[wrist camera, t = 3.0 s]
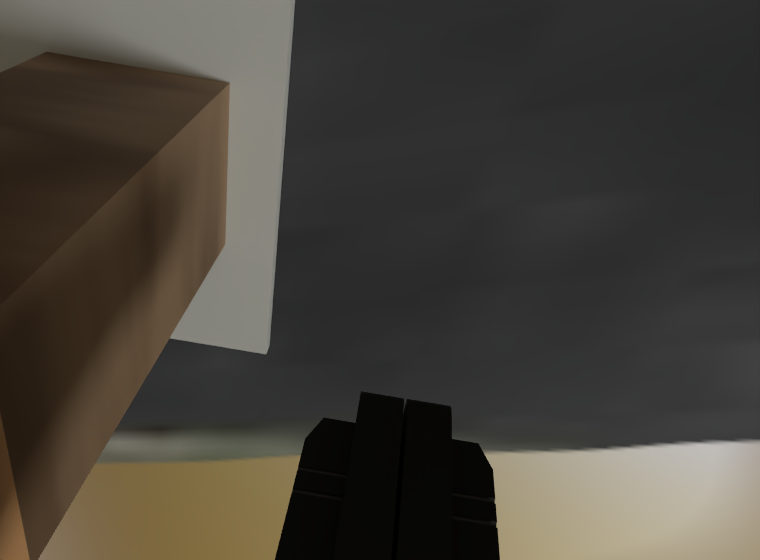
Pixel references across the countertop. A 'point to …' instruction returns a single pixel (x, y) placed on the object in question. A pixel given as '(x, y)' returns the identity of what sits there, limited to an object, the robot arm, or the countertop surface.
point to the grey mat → (246, 122)
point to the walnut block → (93, 260)
